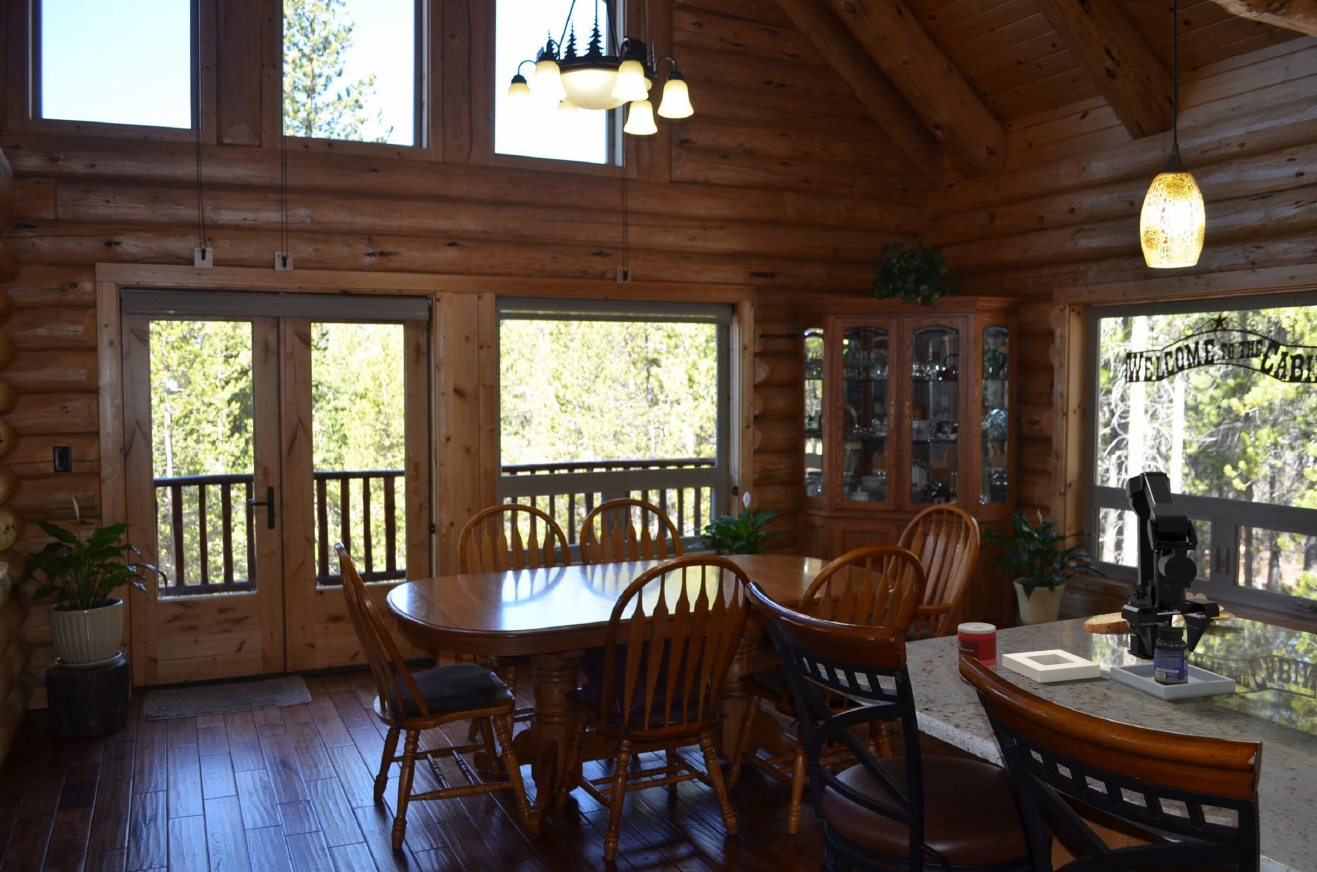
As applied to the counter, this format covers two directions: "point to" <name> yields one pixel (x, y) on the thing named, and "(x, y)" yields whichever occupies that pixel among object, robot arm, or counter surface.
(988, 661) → the canned food
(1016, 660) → the white square frame
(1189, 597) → the decorative flower
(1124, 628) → the slice of bread
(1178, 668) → the pill bottle
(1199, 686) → the tray
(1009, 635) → the counter surface
